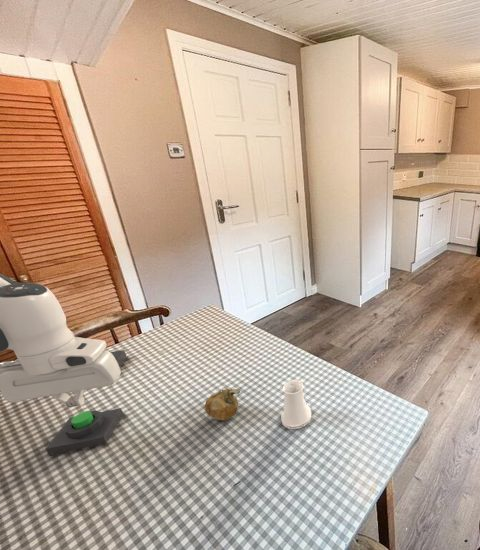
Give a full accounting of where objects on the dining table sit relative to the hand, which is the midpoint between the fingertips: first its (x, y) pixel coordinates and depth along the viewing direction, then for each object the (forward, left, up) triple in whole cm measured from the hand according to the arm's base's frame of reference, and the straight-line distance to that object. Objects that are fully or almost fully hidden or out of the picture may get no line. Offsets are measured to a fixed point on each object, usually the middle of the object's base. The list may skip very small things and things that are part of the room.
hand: (75, 404), depth 70 cm
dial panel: (-10, +27, -9) cm, 31 cm away
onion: (+31, -3, -10) cm, 32 cm away
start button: (0, 0, -6) cm, 6 cm away
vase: (+49, -9, -10) cm, 51 cm away
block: (0, 0, -9) cm, 9 cm away
